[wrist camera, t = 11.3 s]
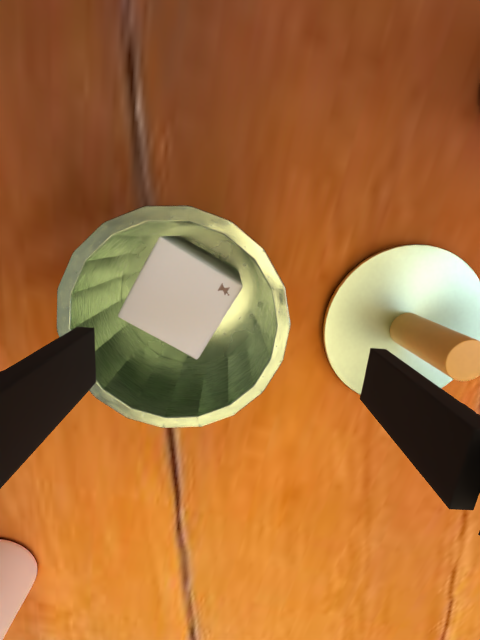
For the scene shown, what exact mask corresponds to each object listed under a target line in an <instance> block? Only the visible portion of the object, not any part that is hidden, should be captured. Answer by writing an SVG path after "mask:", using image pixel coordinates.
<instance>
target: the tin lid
mask: <svg viewBox="0 0 480 640" xmlns="http://www.w3.org/2000/svg"><path fill="white" fill-rule="evenodd" d="M323 342H324V349H325V352H326V356H327V359H328V361H329V363H330V365H331V367H332V369H333V370H334V372H335V373H336V375H337V376H338V377H339V378H340V379H341V380H342V382H343V383H344V384H346V385H347V386H348V387H349V388H350V389H352V390H353V391H355V392H357V393H358V394H360V395H361V391H362V386H363V382H364V377H365V372H366V367H367V362H368V358H369V353H370V348H379V349H386V350H388V351H389V352H391V353H392V354H393V355H395V356H396V357H398V358H399V359H400V360H402V361H403V362H405V363H406V364H407V365H409V366H410V367H412V368H413V369H414V370H416V371H417V372H419V373H420V374H421V375H423V376H424V377H426V378H427V379H428V380H430V381H431V382H433V383H434V384H435V385H437V386H438V387H440V388H442V387H444V386H445V385H447V384H448V383H449V382H451V381H452V380H453V379H454V380H457V381H469V380H472V379H475V378H476V377H478V376H479V375H480V281H479V279H478V277H477V275H476V274H475V273H474V271H473V270H472V269H471V267H470V266H469V265H468V264H467V263H466V262H465V261H463V260H462V259H461V258H459V257H458V256H457V255H455V254H453V253H451V252H449V251H447V250H445V249H442V248H439V247H435V246H430V245H417V244H411V245H401V246H397V247H392V248H389V249H386V250H383V251H380V252H378V253H376V254H374V255H372V256H370V257H369V258H367V259H366V260H364V261H363V262H361V263H360V264H359V265H357V266H356V267H355V268H354V269H353V270H351V271H350V273H349V274H348V275H347V276H346V277H345V278H344V279H343V280H342V282H341V283H340V284H339V286H338V287H337V289H336V290H335V292H334V294H333V296H332V298H331V300H330V302H329V305H328V307H327V310H326V314H325V318H324V325H323Z"/></svg>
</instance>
